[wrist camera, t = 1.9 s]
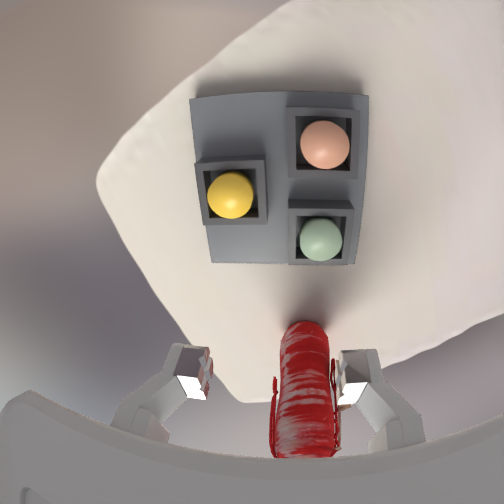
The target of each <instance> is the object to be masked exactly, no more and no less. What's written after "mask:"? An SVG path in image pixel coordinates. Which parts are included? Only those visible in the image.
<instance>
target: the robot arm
mask: <svg viewBox="0 0 504 504" xmlns="http://www.w3.org/2000/svg"><path fill="white" fill-rule="evenodd" d="M209 354H210V350H209V347H202V346H193V345H185V344H178V343H174V344H173V345H172V346H171V349H170V351H169V354H168V356H167V359H166V361H165V364H164V367H163V369H162V372H161V373H157V374H156V375H154V376H153V377H152V378H151V379H149V380H148V381H147V382H145V383H144V384H143V385H141V386H140V387H139V388H138V389H136V390H135V391H133V392H132V393H131V394H129V395H128V396H127V397H125V398H124V399H123V400H121V401H120V403H119V405H118V408H117V410H116V412H115V415H114V417H113V420H112V422H111V425H110V426H109V425H106V424H104V423H101V422H98V421H96V420H94V419H91V418H89V417H86V416H84V415H82V414H79V413H77V412H75V411H73V410H70V409H68V408H66V407H64V406H62V405H60V404H58V403H56V402H54V401H52V400H50V399H48V398H46V397H45V396H43V395H41V394H39V393H37V392H35V391H33V390H28V391H26V392H24V393H22V394H20V395H18V396H16V397H15V398H13V399H11V400H10V401H9V402H8V403H7V404H6V405H5V407H4V408H3V409H2V411H1V413H0V504H504V413H503V414H501V415H499V416H496V417H494V418H492V419H490V420H488V421H485V422H483V423H480V424H478V425H475V426H473V427H470V428H467V429H465V430H462V431H460V432H456V433H453V434H450V435H447V436H444V437H441V438H438V439H434V440H430V441H427V442H426V440H425V435H424V430H423V424H422V419H421V415H420V414H419V413H418V412H417V411H416V410H415V409H414V408H413V407H412V406H411V405H410V404H409V403H408V402H407V401H406V400H405V399H404V398H403V397H402V396H401V394H400V393H398V392H397V391H396V389H394V387H393V386H392V385H391V384H390V383H389V382H388V381H384V380H383V375H382V370H381V366H380V361H379V357H378V353H377V350H376V349H365V350H364V349H359V350H343V351H340V353H339V361H337V363H336V367H335V383H336V384H337V385H338V387H337V390H336V397H337V405H342V404H356V405H357V406H358V408H359V409H360V411H361V412H362V413H363V415H364V416H365V417H366V419H367V420H368V421H369V423H370V424H371V425H372V427H373V428H374V429H375V431H376V432H377V434H376V435H375V436H374V437H373V438H372V439H371V440H370V441H369V442H368V443H367V447H368V453H367V454H360V455H351V456H340V457H326V458H264V457H263V458H262V457H250V456H239V455H230V454H223V453H215V452H208V451H203V450H197V449H192V448H187V447H182V446H178V445H173V444H169V443H168V440H169V436H170V433H169V432H168V430H167V429H166V428H165V427H164V426H163V425H162V423H163V422H164V421H165V420H166V419H167V418H168V417H169V416H170V415H171V414H172V413H173V412H174V411H175V410H176V409H177V408H178V407H179V406H180V405H181V404H182V403H183V402H184V401H185V400H186V399H187V397H191V398H198V399H206V398H207V395H208V391H209V384H208V381H209V380H210V379H211V378H212V374H213V360H212V358H211V357H210V356H209Z"/></svg>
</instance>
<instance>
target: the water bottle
mask: <svg viewBox="0 0 504 504" xmlns="http://www.w3.org/2000/svg"><path fill="white" fill-rule="evenodd" d="M337 361H339V360H336V363H337ZM329 372H330V357H329V343H328V337H327V335H326V334H325V332H324V330H323V329H322V328H321V327H320V326H319V325H318V324H317V323H314V322H310V321H301V322H297V323H295V324H293V325H291V326H290V327H289V328H288V330H287V331H286V332H285V334H284V336H283V338H282V340H281V345H280V379H281V383H280V397H279V403H278V408H277V413H276V422H275V409H276V408H275V407H276V395H277V394H278V391H277V379H276V377H274V379H273V393H274V395H273V397H272V402H271V412H270V430H269V444H270V449H271V453H272V455H273V457H274V458H277V457H278V458H326V457H332V456H333V455H334V454H335V453H336V452H337V451H339V450H341V447H340V443H341V411H343V410H345V409H348V408H350V407H351V404H342V405H338V408H337V397H336V383H335V359H334V358H333V359H332V360H331V373H330V379H329ZM332 376H334V384H333V380H332ZM330 382H331V385H332V388H333V391H334V398H335V412H334V411H333V406H332V399H331V394H330ZM337 412H338V417H337ZM334 415H335V419H334ZM272 417H273V423H272ZM337 419H338V420H337ZM334 423H335V434H334ZM338 425H339V427H338ZM337 437H338V440H337ZM334 439H335V441H334ZM336 444H337V447H336ZM276 455H277V456H276Z"/></svg>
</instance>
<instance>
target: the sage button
mask: <svg viewBox="0 0 504 504" xmlns="http://www.w3.org/2000/svg"><path fill="white" fill-rule="evenodd" d="M299 236H300V247H301V250H302V252H303V253H304V255H305V256H307V257H308V258H310V259H312V260H315V261H325V260H329V259H331V258H333V257H334V256H335V255H337V253H338V252H339V251H340V249H341V246H342V237H341V234H340V231H339V228H338V225H337V224H336V222H335V221H334V220H333V219H331V218H329V217H327V216H314V217H311V218H309V219H307V220H306V221H305V222H304V223H303V224H302V226H301V228H300V233H299Z"/></svg>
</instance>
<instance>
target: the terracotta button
mask: <svg viewBox="0 0 504 504" xmlns="http://www.w3.org/2000/svg"><path fill="white" fill-rule="evenodd" d="M300 147H301V150H302V153H303V155H304V157H305V159H306V160H307V161H308V162H309V163H310V164H312V165H313V166H315V167H317V168H321V169H331V168H334V167H337V166H338V165H340V164H341V163H342V162H343V161H344V160H345V159H346V157H347V155H348V153H349V147H350V145H349V139H348V137H347V134H346V133H345V131H344V130H343V129H342V128H341V127H339V126H338V125H336V124H334V123H333V122H330V121H327V120H316V121H313V122H311V123H309V124H308V125H307V126H306V127H305V128H304V129H303V130H302V132H301V135H300Z"/></svg>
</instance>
